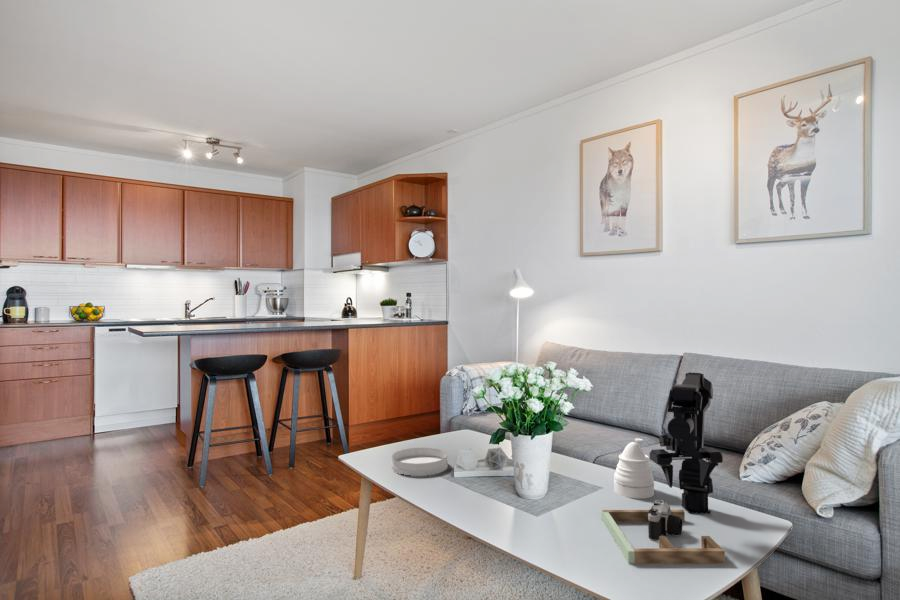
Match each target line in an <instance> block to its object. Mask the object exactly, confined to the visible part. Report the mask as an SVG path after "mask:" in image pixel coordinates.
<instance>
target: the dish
mask: <svg viewBox="0 0 900 600" xmlns="http://www.w3.org/2000/svg"><path fill="white" fill-rule="evenodd" d="M448 467H449V465H448V454H447V452H446V451H445V450H442V449H439V448H433V447H412V448H406V449H401V450H398V451H396V452H394V453H393V454H391V470H392V469H393V470H394V471H395V472H397V473H400V474H404V475H403V476H405V475H411V476H410V477H427V475H429V476H434V475H438V474H440V473H442V472H445V471H446V470H447V469H448ZM393 470H392V471H393ZM395 472H394V473H395ZM397 473H396V474H397ZM400 474H399V475H400Z"/></svg>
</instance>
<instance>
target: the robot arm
mask: <svg viewBox="0 0 900 600" xmlns="http://www.w3.org/2000/svg"><path fill="white" fill-rule="evenodd" d="M684 377H685V378H684V379H683V381H682V383H681V384H675V385H673V386H672V389H670V390H669V395H668V405H667V413H673V417H672V418H671V419H670V420H669V422H668V424H667V431H668V433H669V435H670V437H669V436H668V434H660V435H659V440H658V441H659V446H660V447H661V448H662V447H665V449H661V448H660V449H651V450H650V452H649V458H650V461H652V462H653V463H655V464H656V465H659V467H660V468H661V470H662V472H663V475H664V477H665V480H666V482H667V485H668V487H669V488H673V484H674V483H673V482H674V481H673V479H674V477H673V476H674V465H672V463H673V461H675V460H676V461H677V460H678V461H681V460H682V462H681V467H680V469H679V470H678V471H679V472H678V481H679V482H678V483H679V490H683V492H682V493H681V506H682V508H683V509H685V510H686V511H687V513H689V514H711V513H712V512H711V510H709V495H710V494H712V493H714V483H713V478H712V477H711V473H712V472H713V470H714V469H715V468H716V467H718V466H719V464H721V463H722V464H723V463H724V455H723V453H722V452H721V451H720V450H717V449H715V448H714V447H704V438H705V435H704V433H705V414H706V411H707V410H708V409H709V408H710V406H711V401H712V400H713V399H714V388H713V384H712V383H713V382H712V381H710V380H708V378H705V374H704V373H702V372H691V371H690V372H686V373H685V376H684ZM666 450H667V451H666ZM669 451H671V452H669Z"/></svg>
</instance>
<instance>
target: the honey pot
mask: <svg viewBox="0 0 900 600" xmlns="http://www.w3.org/2000/svg"><path fill="white" fill-rule="evenodd" d="M643 442H644V439H642V438H638V437H637V438H634V441H631V442H629V443H628V444H627V445H626V446H625V447H624V449H623V451H622V453H620V454H619V455H618V459H619V461H618V463H617V464H616V468H615V472H614V473H613V491H614V493H616V494H617V495H619V496H621V497H625V498H629V499H640V500H641V499H642V500H643V499H648V498H651V497H653V496H654V495H655V482H654V481H655V478H654V476H653V475H654V474H653V473H652V471H651V466H650V465H649V462H650V461H651V460H650V456H649V455H647V454H645V453H644V451H643V449H642V447H641V445H642V444H643Z"/></svg>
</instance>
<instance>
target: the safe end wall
mask: <svg viewBox="0 0 900 600" xmlns="http://www.w3.org/2000/svg"><path fill="white" fill-rule="evenodd" d="M603 510H604V509H602V510H601V514H602V515H601V521H602V522H603V524H604V525H605V527H606V529H607V531H608V532H609V534H610V535H611V537H612V538H613V541H614V542H615V544H616V546H617V547H618V549H619V550H620V553H622V556H623V557H624V558H625V560H626V562H627V564H636V563H635V553H634V550H633V549H634V548H633V547H632V546H631V544H630V542H629V541H628V539H627V538H626V536H625V535H624V533H623V532H622V530H621V529H620V528H619V526H618V524H617V522H615V521H614V520H613V518H612V517H611V515H610V514H609V512H604V511H603ZM602 516H603V517H602Z"/></svg>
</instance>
